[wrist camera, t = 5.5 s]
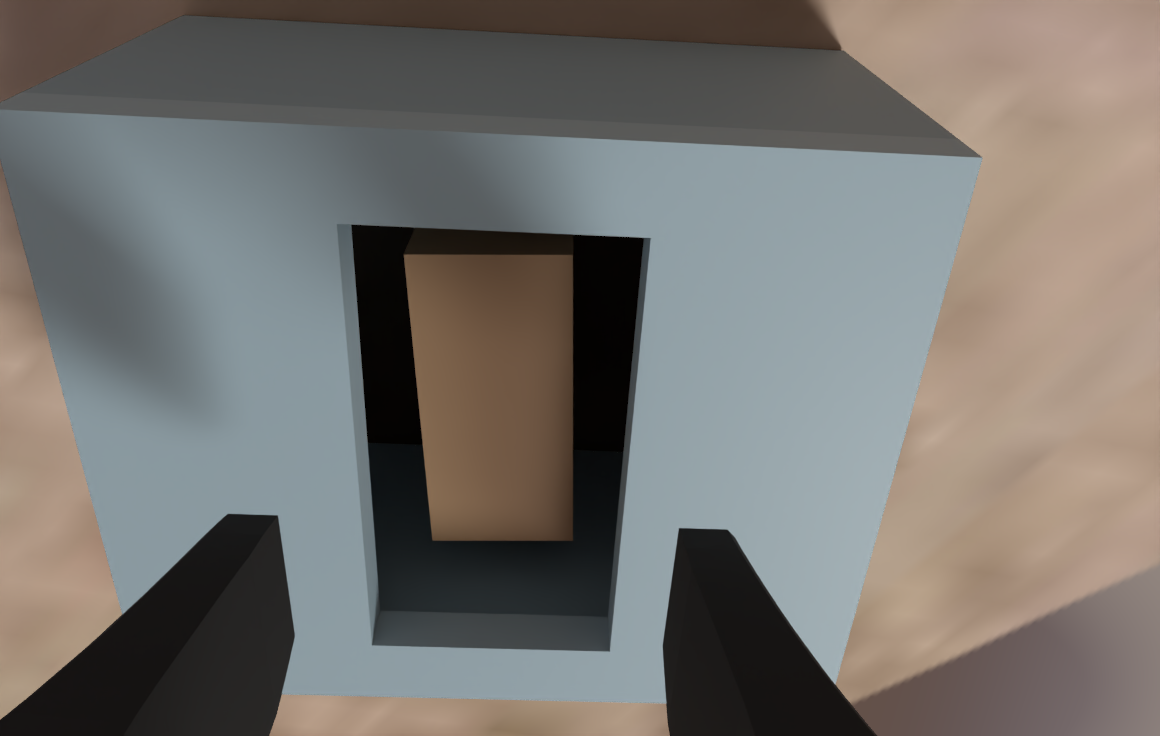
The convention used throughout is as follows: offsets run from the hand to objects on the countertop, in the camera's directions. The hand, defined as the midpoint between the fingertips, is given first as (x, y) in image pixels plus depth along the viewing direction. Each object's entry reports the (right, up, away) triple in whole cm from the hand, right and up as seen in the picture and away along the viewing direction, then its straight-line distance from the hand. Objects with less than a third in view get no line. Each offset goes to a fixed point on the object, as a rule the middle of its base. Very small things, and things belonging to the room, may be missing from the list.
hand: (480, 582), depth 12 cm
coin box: (0, +4, +8) cm, 9 cm away
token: (0, +4, +8) cm, 9 cm away
